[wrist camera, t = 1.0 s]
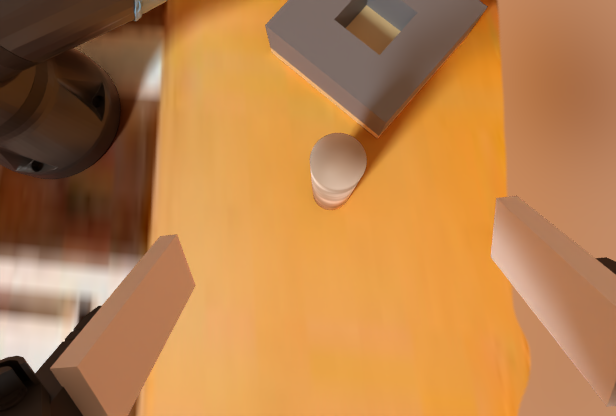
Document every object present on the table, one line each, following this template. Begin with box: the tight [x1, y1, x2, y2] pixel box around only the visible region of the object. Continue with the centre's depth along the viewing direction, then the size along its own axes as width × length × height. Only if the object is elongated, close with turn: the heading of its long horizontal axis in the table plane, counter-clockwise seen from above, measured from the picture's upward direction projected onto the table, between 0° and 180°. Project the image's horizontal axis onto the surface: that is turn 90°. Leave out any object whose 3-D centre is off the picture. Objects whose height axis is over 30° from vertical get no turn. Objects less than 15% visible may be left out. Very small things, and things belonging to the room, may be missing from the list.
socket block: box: [265, 0, 487, 139], centre depth 37 cm, size 16×16×5 cm
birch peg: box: [310, 133, 367, 210], centre depth 31 cm, size 4×4×14 cm
